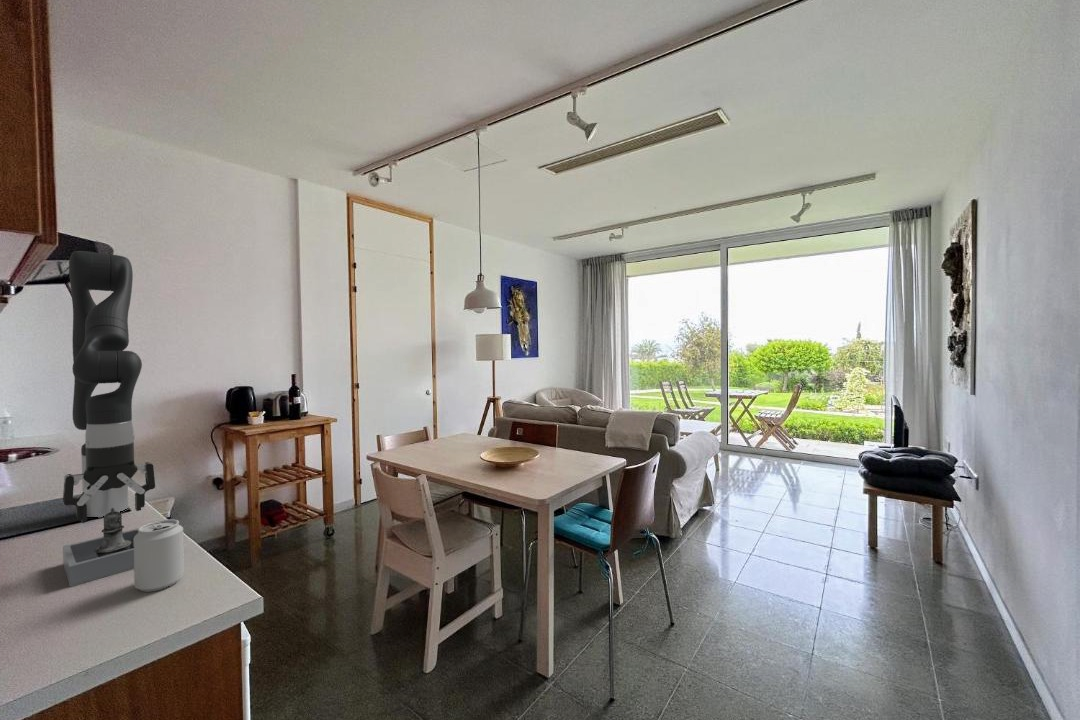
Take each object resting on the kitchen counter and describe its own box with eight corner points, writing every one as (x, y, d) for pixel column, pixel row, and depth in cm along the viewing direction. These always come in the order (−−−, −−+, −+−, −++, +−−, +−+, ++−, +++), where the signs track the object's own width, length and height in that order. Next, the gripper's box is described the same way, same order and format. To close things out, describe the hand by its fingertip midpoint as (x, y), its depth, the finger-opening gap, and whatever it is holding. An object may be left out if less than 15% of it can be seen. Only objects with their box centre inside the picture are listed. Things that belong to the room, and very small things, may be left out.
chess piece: (108, 570, 93) (107, 514, 93) (87, 567, 94) (85, 511, 94) (138, 557, 99) (137, 504, 98) (118, 554, 100) (117, 502, 100)
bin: (63, 564, 95) (62, 546, 95) (148, 542, 106) (148, 525, 106) (69, 586, 86) (69, 566, 86) (162, 560, 97) (161, 542, 97)
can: (142, 598, 83) (141, 535, 82) (128, 586, 87) (127, 526, 86) (190, 580, 89) (189, 522, 89) (175, 570, 93) (174, 514, 93)
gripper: (149, 434, 103) (151, 502, 104) (60, 445, 92) (62, 521, 93) (157, 439, 99) (158, 510, 99) (63, 451, 88) (65, 531, 88)
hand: (111, 515), depth 96 cm, fingers open, 8 cm apart
